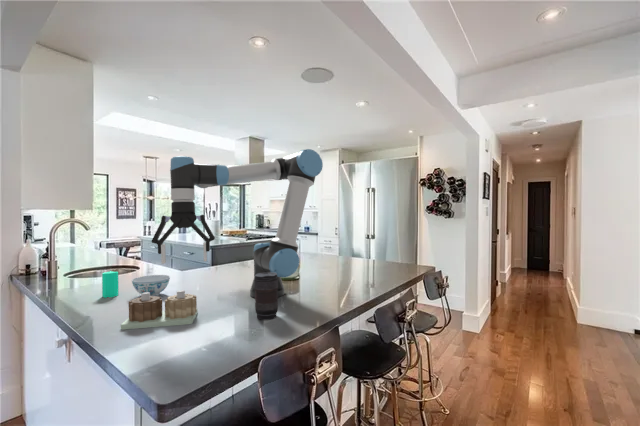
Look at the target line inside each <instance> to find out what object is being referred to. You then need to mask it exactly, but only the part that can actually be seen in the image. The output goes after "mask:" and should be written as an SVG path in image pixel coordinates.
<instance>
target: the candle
mask: <svg viewBox="0 0 640 426" xmlns="http://www.w3.org/2000/svg"><path fill="white" fill-rule="evenodd" d="M101 285H102V286H101V288H102V289H101V290H102V291H101V293H102V298H103V297H104V299H105V298H107V297H109V298H113V297H114V296H115V297H117V296H119V272H118V271H111V268H110V269H109V271H105V272H102V273H101Z"/></svg>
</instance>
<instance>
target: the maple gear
mask: <svg viewBox="0 0 640 426" xmlns="http://www.w3.org/2000/svg"><path fill="white" fill-rule="evenodd" d="M197 302H198V301H197V295H195V294H191V293H185V298H179V299H177V294H174V295H170V296H169V297H167V298H166V299H164V311H165V317H170V319H175V318H186V317H188V316H191V315H192V316H193V315H195V312H197Z"/></svg>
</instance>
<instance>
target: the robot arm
mask: <svg viewBox="0 0 640 426" xmlns="http://www.w3.org/2000/svg"><path fill="white" fill-rule="evenodd" d="M169 169H170V170H169V171H170V198H171V199H170V200H171V201H172V202H171V204H170V205H171V214H170V216H167V215H162V216H161V219H160V224H159V225H158V227H157V229H156V230H155V234H154V235H153V238H152V239H151V243H152V244H156V245H157V253H158V255H161V256H160V257H161V259H160V260H161V262H160V263H161V265H164V264H166V263H167V262H166V261H167V259H166V257H167V256H166V243H165V241H166V240H167V239H168V238H169V236H170V235H171V234H172V233H173V232H174V231H175V230H176V228H178V229H189V228H191V229H193V230H194V231H195V232H196V233H197V234H198V235H199V236H200V238H201V239H202V240H203V241H204V242H203V247H202V248H203V249H202V250H203V262H207V260H208V255H207V254H208V252H210V250H211V248H210V246H211V244H210V243H211V242H213V241H214V240H215V239H216V237H215V235H214V233H213V232H212V230H211V228H210V227H209V225H208V223H207V221H206V218H205V217H206V215H204V214H201V215H196V203H195V202H194V201H195V200H196V198H195V197H196V196H195V186H196V187H197V188H198V189H199V188H200V189H207V188H212V187H218V186H226V185H233V184H240V183H241V184H242V183H249V182H256V181H264V180H272V179H274V180H275V181H282V180H288V182H289V184H288V187H287V191H286V194H285V195H286V196H285V199H284V203H283V207H282V212H281V215H280V219H279V222H278V226H277V231H276V234H275V237H274V238H272V239H271V240H270V242H263V243H256V244H255V245H253V246H254V247H253V280H252V283H251V286H250V288H249V289H250V290H249V293H250V295H249V296H250V297H251V298H253V299H255V284H254V278H255V275H256V274H258V273H264V272H274V273H277V276H278V289H277V294H278V298H280V297H282V296H284V295H285V287H284V283H283V280H282V278H288V277H291V276H292V275H294V274H295V273H296V272H297V270H298V269H299V266H300V257H299V254H298V250H299V245H298V243H297V239H298V235H299V231H300V226H301V224H302V223H301V222H302V217H303V214H304V210H305V205H306V203H307V197H308V193H309V190H310V187H312V186H313V185H314V184H315V182H316V181H315V180H316V177H317V176H319V174H321V172H322V171H323V160H322V158H321V156H320V154H319V153H318V152H317V151H315V150H314V149H310V148H305V149H301V150H299V151H297V152H294V153H291V154H287V155H285V156H283V157H279V158H273V159H272V160H271V161H265V162H256V163H255V162H253V163H246V164H245V163H244V164H236V165H225V164H220V163H219V164H213V163H212V164H209V163H206V164H205V163H196V162H195V161H194V158H193V157H191V156H186V155H184V156H183V155H179V156H178V155H176V156H172V158H171V159H170V168H169ZM196 220H198V222H200V223H201V225H202V226H203V228H204V231H206V234H207V235H208V236H207V235H206V234H205V233H204V232H203V231H202V230H201V229H200V227H198V226H197V224H196V223H195V222H196ZM169 221H171V222H172V224H171V226H170V227H169V228H168V230H167V231H166V232H165V233H164V234H162V233H163V230H164V228H165V226H166V225H167V223H168V222H169ZM161 234H162V236H161Z"/></svg>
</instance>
